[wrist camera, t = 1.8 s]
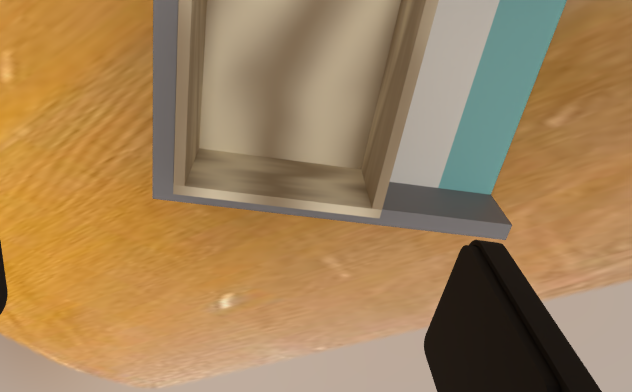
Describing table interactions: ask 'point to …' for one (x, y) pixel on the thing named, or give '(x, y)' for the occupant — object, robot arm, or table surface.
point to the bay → (417, 115)
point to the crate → (295, 99)
